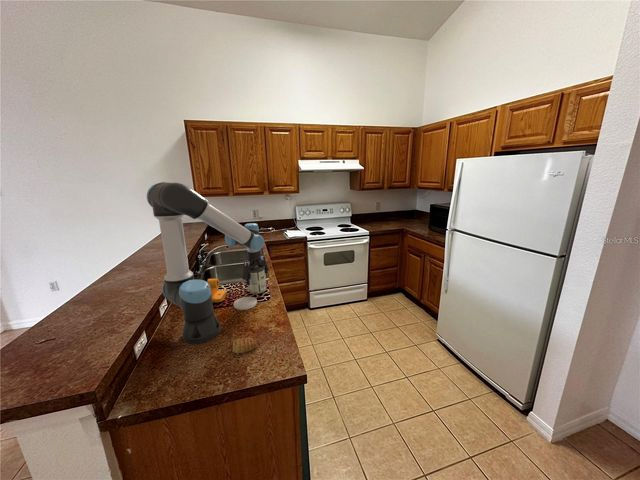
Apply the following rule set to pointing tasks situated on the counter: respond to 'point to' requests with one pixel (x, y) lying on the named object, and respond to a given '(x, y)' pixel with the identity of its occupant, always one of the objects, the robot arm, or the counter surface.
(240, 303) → the plate
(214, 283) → the bracket
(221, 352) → the counter surface
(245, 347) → the pastry
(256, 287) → the coffee can
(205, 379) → the counter surface
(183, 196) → the robot arm
